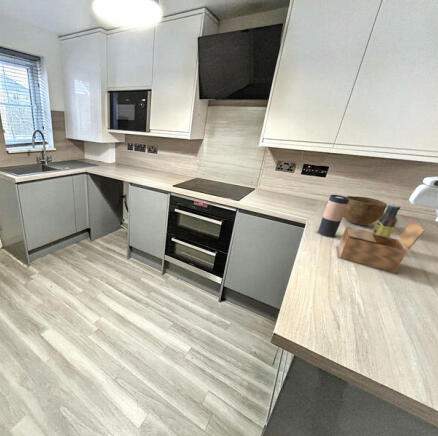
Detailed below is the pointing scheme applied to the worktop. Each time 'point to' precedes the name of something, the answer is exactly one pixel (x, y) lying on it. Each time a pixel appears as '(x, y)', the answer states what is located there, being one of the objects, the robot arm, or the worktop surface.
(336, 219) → the travel mug
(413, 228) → the carton flap
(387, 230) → the sauce bottle
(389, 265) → the carton
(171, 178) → the worktop surface
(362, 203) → the bowl
